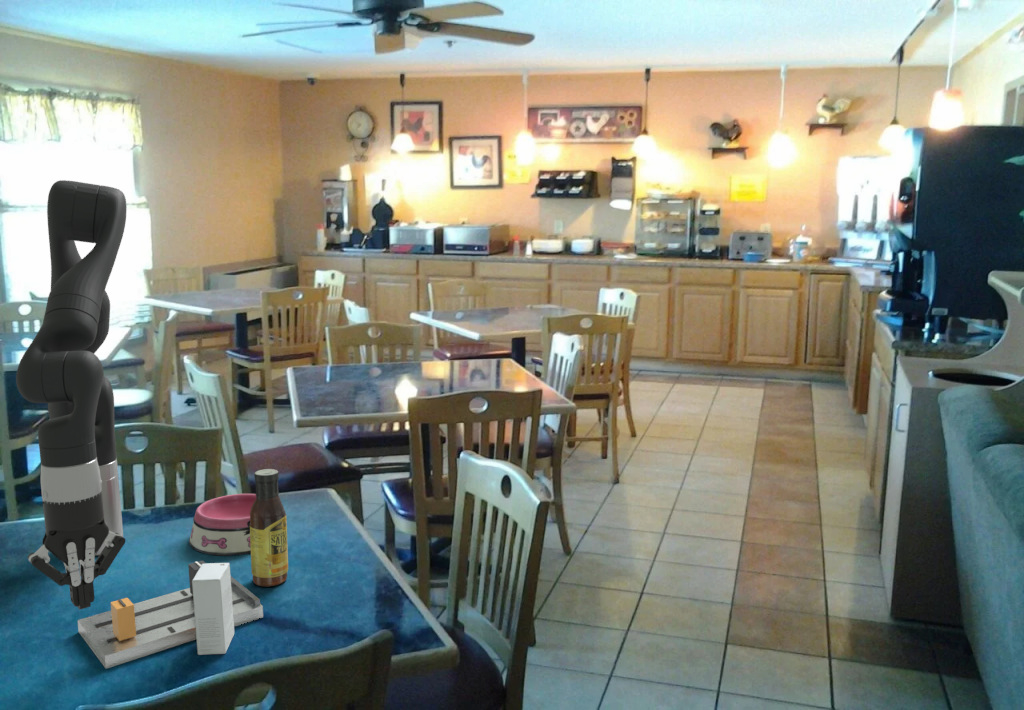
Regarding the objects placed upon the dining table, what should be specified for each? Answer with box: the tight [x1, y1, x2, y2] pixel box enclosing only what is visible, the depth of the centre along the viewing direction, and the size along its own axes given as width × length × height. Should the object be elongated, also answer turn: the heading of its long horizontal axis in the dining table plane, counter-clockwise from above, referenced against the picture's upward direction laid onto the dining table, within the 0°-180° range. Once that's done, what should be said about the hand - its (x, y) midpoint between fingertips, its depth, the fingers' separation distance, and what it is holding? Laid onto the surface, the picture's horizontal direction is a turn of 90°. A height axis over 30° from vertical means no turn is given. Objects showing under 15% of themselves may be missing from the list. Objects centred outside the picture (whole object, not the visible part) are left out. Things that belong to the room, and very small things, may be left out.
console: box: [77, 575, 264, 670], centre depth 138 cm, size 14×24×3 cm, turn 131°
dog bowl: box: [188, 493, 257, 557], centre depth 173 cm, size 18×19×7 cm
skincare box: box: [192, 562, 235, 656], centre depth 132 cm, size 6×4×12 cm
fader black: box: [187, 560, 207, 595], centre depth 144 cm, size 3×2×5 cm
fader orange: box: [110, 597, 136, 641], centre depth 131 cm, size 3×2×5 cm
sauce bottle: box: [250, 468, 289, 588], centre depth 153 cm, size 7×6×20 cm
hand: (83, 606), depth 126 cm, fingers closed
